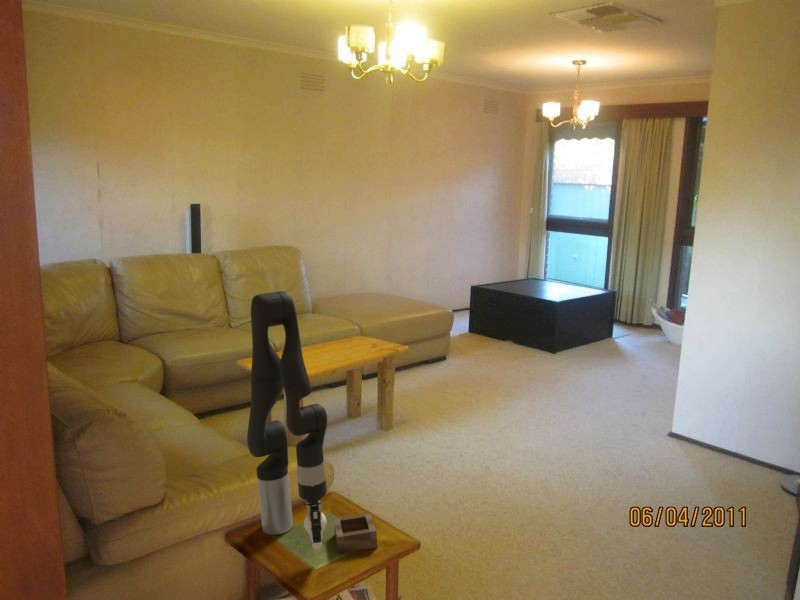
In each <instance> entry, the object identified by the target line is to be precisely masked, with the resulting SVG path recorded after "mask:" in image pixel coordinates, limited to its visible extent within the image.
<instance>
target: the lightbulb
mask: <svg viewBox="0 0 800 600" xmlns="http://www.w3.org/2000/svg"><path fill="white" fill-rule="evenodd" d="M321 515H322V519H321V527H322V529H321V542H318V543H313V536H312V531H311V522H310V521H309V516H308V513H307V514H306V516H305V517H304V519H303V520H304V521H303V527H304V529H305V530H306V532H307V533H308V535H309V539H310V541H311V546H312V549H314V550H316V551H319V550H320V549H322V547H323V546H322V545H323V542H322V541H323V534H324V531H325V530H326V527H327V517H326V516H325V514H324V513H323V512H322V511H321ZM310 516H311V515H310ZM315 525H319V524H315ZM313 526H314V525H313Z"/></svg>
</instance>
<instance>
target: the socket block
mask: <svg viewBox="0 0 800 600" xmlns="http://www.w3.org/2000/svg"><path fill="white" fill-rule="evenodd" d="M333 527H334V537H335V542H336V547H337V552H338V555H341V554H347V553H354V552H359V551H360V552H361V551H366V550H372V549H377V548H378V538H377V536H378V535H377V529H376V527H375V522H374V520H373V517H372V514H371V512H369V513H362V514H355V515H349V516H342V517H337V518H336V517H335V518H333Z"/></svg>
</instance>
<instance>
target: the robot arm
mask: <svg viewBox="0 0 800 600" xmlns="http://www.w3.org/2000/svg"><path fill="white" fill-rule="evenodd" d="M296 310H297V309H296V305H295V303H294V299H293V297H292V295H291V294H290V293H289V292H288V291H285V290H281V291H280V290H279V291H271V292H265V293H260V294H259V293H258V294H255V295H254V296H253V298H252V300H251V304H250V323H251V339H252V342H251V343H252V351H251V352H252V354H251V357H252V358H251V371H250V372H251V374H250V407H249V408H250V410H249V418H248V426H247V434H246V435H247V438H246V441H247V447H248V451H249V453H250V454H251V456H253V457H254V458H262V457H265V456H267V457H266V458H265V459H264V460H263V461H262V462H261V463H259V464H258V465H257V466H256V472H255V473H256V480H257V481H256V482H257V489H258V490H257V491H258V498H259V499H258V500H259V509H260V519H261V527H262V531H263V533H264V534H266V535H270V536H277V535H282V534H285V533H288V532H289V531H290V530H291V529H292V528H293V527H294V521H293V510H292V500H291V499H292V498H291V490H290V480H289V477H290V476H289V469H288V468H289V450H288V448H289V447H288V445H289V444H288V435H287V431H286V427H285V425H284V424H283V423H282V421H281V420H276V419H275V420H271V421H268V422H267V419H268V416H269V414H270V413H271V411H272V409H273V407H274V406H275V405H276V403H277V402H278V400H279V398H280V396H281V394H282V392H283V390H284V393H285V394H284V395H285V402H286V403H285V404H286V426H287V428H288V431H289V432H290V433H291V434H292V435H293V436H295V437H301V436H303V435H307V434H308V435H307V436H305V438H303V439H301V440H299V441H298V443H296V447H295V452H296V465H297V466H296V476H297V488H298V496H299V497H300V499H302V500H305V504H306V510H307V514H308V516H309V521H310V522H311V531H312V536H313V543H318V542H321V529H322V527H321V519H322V515H321V512H322V508H323V507H322V506H323V505H322V500H321V498H324V497H325V496H326V495H327V493H328V488H327V487H328V486H327V476H326V472H327V471H326V467H325V460H324V451H323V450H324V449H323V447H324V446H323V445H324V441H325V435H326V432H327V431H326V430H327V425H328V415H327V411H326V408H325V407H324V406H323V405H321V404H319V403H312V404H308V405H306V406H300V402H301V400H302V399H305V398H306V397H308V396H310V395H311V394H312V392H313V391H312V384H311V380H310V379H309V375H308V370H307V368H306V364H305V361H304V357H303V350H302V344H301V342H302V341H301V335H300V329H299V323H298V316H297V311H296ZM277 326H283V329H284V335H285V339H284V340H285V341H284V345H283V350H282V354H281V357H280V356H279V354H278V353H277V352H276V350H275V349H274V348H273V346H272V344H271V342H270V340H269V339H270V338H269V328H271V327H277ZM310 515H311V516H310ZM315 524H319V525H315ZM313 525H314V526H313Z"/></svg>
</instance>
